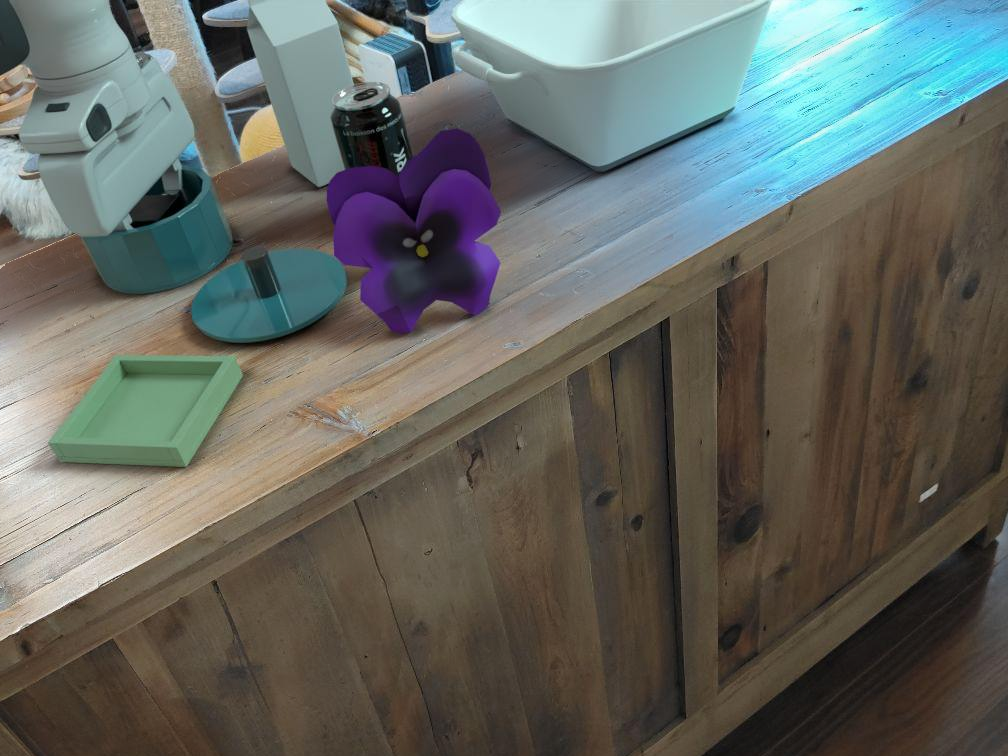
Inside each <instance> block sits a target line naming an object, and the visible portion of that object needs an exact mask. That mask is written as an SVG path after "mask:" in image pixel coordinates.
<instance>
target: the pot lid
mask: <svg viewBox="0 0 1008 756" xmlns="http://www.w3.org/2000/svg"><path fill="white" fill-rule="evenodd" d="M240 258H241V260H239V261H237V262H235V263H233V264H231V265H229V266H227V267H225V268H224V269H222V270H221V271H219V272H218V273H216V274H215V275H214V276H212V277H211V278H210V279H208V280H207V282H205V283H204V284H203V285H202V286H201V287H200V288H199V290H198V291H197V293H196V295H195V296H194V298H193V300H192V302H191V307H190V314H191V315H190V316H191V318H192V321H193V323H194V325H195V326H196V328H197V330H199V331H200V332H201V333H202V334H203V335H205V336H206V337H209V338H212V339H213V340H216V341H221V342H227V343H238V344H239V343H240V344H241V343H242V344H243V343H244V344H245V343H256V342H264V341H268V340H272V339H277V338H280V337H284V336H286V335H289V334H293V333H294V332H297V331H299V330H302V329H304V328H306V327H308V326H310V325H311V324H313V323H315V322H316V321H318V320H319V319H321V318H322V317H324V316H325V315H326V314H328V313H329V312H330V311H331V310H332V309H334V308H335V306H336V305H337V304H338V303H339V302H340V300H341V299H342V297H343V296H344V294H345V291H346V288H347V285H348V276H347V272H346V269H345V267H344V264H343V263H342V262H340V261H339V260H338V259H337V258H336V257H335V256H334V255H332V254H330V253H327V252H324V251H321V250H318V249H311V248H310V249H309V248H284V249H277V250H271V251H268V249H267V247H265V246H262V245H257V246H252V247H249V248H247V249H245V250H244V251H243V252H242V253H241V255H240Z"/></svg>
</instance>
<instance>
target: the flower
mask: <svg viewBox="0 0 1008 756" xmlns="http://www.w3.org/2000/svg"><path fill="white" fill-rule="evenodd" d="M491 189H492V180H491V175H490V169H489V166H488V162H487V159H486V155H485V153H484V151H483V148H482V147H481V145H480V143H479V141H477V140H476V139H475V137H474V136H473V135H472V134H471V133H470V132H467V131H465V130H462V129H460V128H458V127H456V128H450V129H444V130H440V131H439V132H437V134H436V135H435V136H434V137H433V138H432V139H431V140H430V141H429V142H428V143H427V144H426V145H425V146H424V147H423V148H422V150H421V151H419V152H418V153H416V154H415V155H413V158H411V159H410V160H409V161H407V162H406V163H405V165H404V167H403V168H402V170H401V171H400V173H399V176H398V175H396V174H394V173H393V172H391V171H389V170H388V169H386V168H381V167H375V166H365V167H355V168H349V169H346V170H343V171H340V172H337V173H336V174H335V175H334V177H333V178H332V179H331V180H330V182H329V183H328V184H327V188H326V198H325V199H326V204H327V208H328V213H329V216H330V219H331V222H332V224H333V225H334V229H333V232H332V237H333V239H332V240H333V242H332V243H333V257H335V258H336V259H337V260H339V262H340V263H341V264H342V265H343V266H349V267H358V268H367V269H370V270H369V271H368V272H367V273H366V274H365V275H364V276H363V277H362V278H360V297H359V300H360V302H361V303H363V304H364V305H365V306H366V307H367V308H368V309H370V310H371V311H372V312H373V313H374V314H375V315H376V316H377V317H378V318H379V319H380V320H381V321H382V322H384V324H385V325H386V326H387V327H388V329H390V331H391V332H392V333H397V334H404V335H405V334H410V333H412V332H413V330H414V328H415V326H416V325H417V323H418V321H419V319H420V317H421V316H422V314H423V312H424V311H425V309H427V308H428V307H429V306H431V305H432V304H433V303H434V302H435V301H440V302H446V303H452V304H453V305H455V306H457V307H459V308H461V309H462V310H464V311H466V312H467V313H469V314H470V315H472V316H476V315H479V314H481V313H482V312H483V311H484V310H485V309H486V308H487V307H489V304H490V299H491V293H492V291H493V289H494V285H495V282H496V280H497V276H498V272H499V269H500V266H501V261H500V259H499V258H498V256H497V255H496V253H495V252H494V250H493V249H492V247H491V246H490V245H489V244H485V243H482V242H478V241H477V240H478V239H480V238H481V237H482V236H483V235H485V234H486V233H488V232H489V231H490V230H492V229H493V228H495V227H496V226H497V225H498V223H499V219H500V216H501V213H502V211H501V208H500V207H499V205H498V202H497V200H496V198H495V197H494V195H493V193H492V191H491Z"/></svg>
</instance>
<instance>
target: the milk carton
mask: <svg viewBox="0 0 1008 756" xmlns="http://www.w3.org/2000/svg"><path fill="white" fill-rule="evenodd" d="M247 2H248V6H249V7H248V15H247V25H246V31H247V33H248V37H249V40H250V43H251V46H252V50H253V52H254V55H255V59H256V61H257V64H258V68H259V70H260V74H261V77H262V80H263V83H264V86H265V89H266V92H267V94H268V95H267V96H268V98H269V101H270V105H271V107H272V111H273V114H274V116H275V120H276V122H277V126H278V128H279V132H280V135H281V137H282V141H283V143H284V147H285V151H286V153H287V155H288V159H289V162H290V165H291V167H292V168H293V169H295V171H297V172H298V173H299V174H300V175H302V176H303V177H305V179H307V180H308V181H309V182H311V183H312V184H314V185H315V186H316V187H317V188H321V187H324V186H326V185H329V182H330V180H331V179H332V178H333V177H334V175H335V174H336V173H337V172H340V171H343V170H345V169H344V165H343V162H342V158H341V155H340V151H339V148H338V144H337V141H336V137H335V134H334V131H333V127H332V123H331V113H332V111H333V110H334V107H335V106H334V105H333V102H332V99H333V97H334V95H335V94H336V93H338V92H339V91H341V90H342V89H344V88H346V87H349V86H352V85H355V83H354V80H353V76H352V72H351V69H350V64H349V60H348V57H347V53H346V49H345V45H344V42H343V38H342V35H341V31H340V30H341V29H340V26H339V23H338V21H337V19H336V17H335V15H334V14H333V12H332V10H331V8H330V7H329V5H328V3H327V1H326V0H247Z"/></svg>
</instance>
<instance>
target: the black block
mask: <svg viewBox="0 0 1008 756" xmlns="http://www.w3.org/2000/svg"><path fill="white" fill-rule="evenodd" d="M182 209H184V205H183V203H182V200H181V198H180V196H179V195H148V196H143V197H142V199H141V200H140V201H139V202H138V203H137V204H136V205H135V206H134V208H133V209H132V210H131V211H130V212H129V214H130V217H131V219H132V223H131V224H130V225H131V226H132V227H133V228H139V227H143V226H148V225H151V224H153V223H156V222H158V221H161V220H163V219H165V218H168V217H170V216H173V215H175V214H176V213H178V212H179V211H181V210H182Z"/></svg>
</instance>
